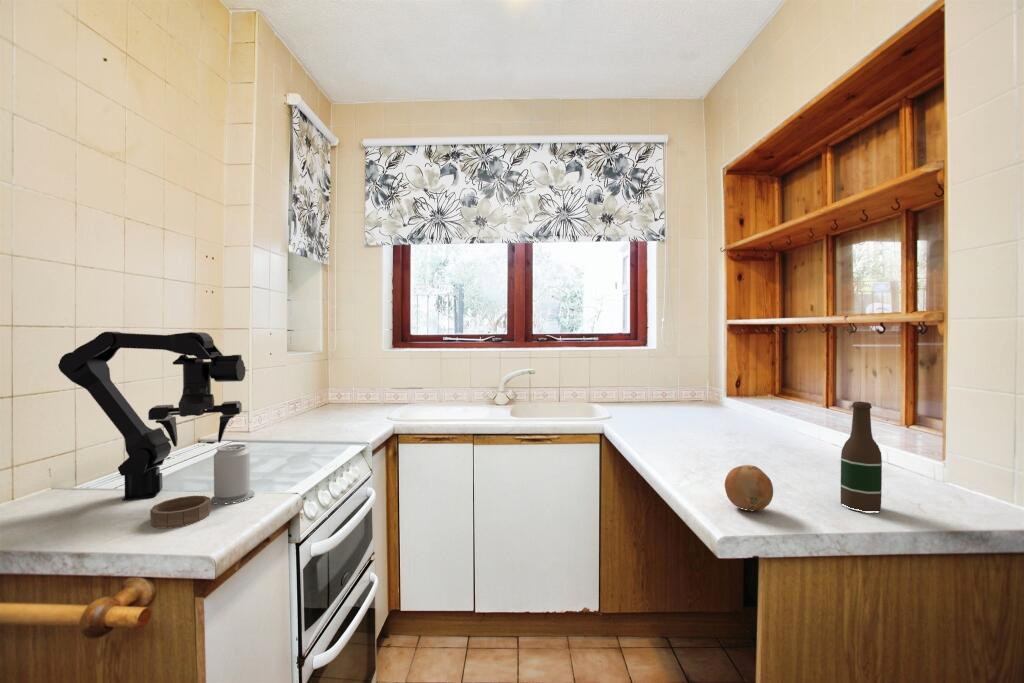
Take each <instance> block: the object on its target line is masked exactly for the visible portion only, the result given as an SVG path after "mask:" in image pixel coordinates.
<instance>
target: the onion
mask: <svg viewBox="0 0 1024 683" xmlns="http://www.w3.org/2000/svg"><path fill="white" fill-rule="evenodd" d="M724 489H725V494H726V497H727V498H728V500H729V501H730V502H731V504H732V505H733V506H735V507H736V508H738V507H740V508H743V509H747V510H759V511H761V510H764V509H765V508H766V507H768V506H769V505H770V504H771V502H772V500H773V497H774V487H773V482H772V481H771V479H770V477H769V476H768V475H767V474H766V472H764V471H763V470H762V469H761V468H759V467H758V466H757V465H756V466H755V465H752V464H744V465H739V466H736V467H733V468H732V469H731V470H729V472H728V473H727V475H726V477H725V480H724ZM740 508H739V509H740Z"/></svg>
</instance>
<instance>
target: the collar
mask: <svg viewBox="0 0 1024 683" xmlns="http://www.w3.org/2000/svg"><path fill="white" fill-rule="evenodd" d="M211 505H212V503H211V498H210V497H209V496H206V495H188V496H187V495H186V496H181V497H175V498H172V499H168V500H167V499H166V500H164V501H162V502H159V503H157V504H155V505H153V506H152V508H151V509H150V525H151V526H152V525H153V526H152V527H154V528H156V527H165V528H164V529H170V528H169V527H171V528H176V526H178V527H184V526H187V525H186V524H188V525H191V524H193V523H194V522H195V523H198V522H200V521H202V520H204V519H206V518H208V517H209V516H210V514H211V507H212V506H211ZM207 516H208V517H207ZM205 517H206V518H205ZM197 521H198V522H197ZM190 523H191V524H190ZM195 523H194V524H195ZM183 525H184V526H183Z"/></svg>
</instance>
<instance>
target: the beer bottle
mask: <svg viewBox="0 0 1024 683" xmlns="http://www.w3.org/2000/svg"><path fill="white" fill-rule="evenodd" d="M851 408H852V421H851V430H850V435H849V438H848V439H847V440H846V441H845V442H844V444H843V446H842V449H841V454H840V504H841V503H842V504H844V505H846V506H848V507H850V508H854V509H859V510H862V511H880V512H881V508H882V485H883V484H882V480H883V479H882V478H883V475H882V474H883V473H882V471H883V470H882V469H883V465H882V464H883V458H882V451H881V449H880V447H879V445H878V443H877V442H876V441H875V439H874V438H873V433H872V421H871V420H872V418H871V409H872V408H873V407H872V404H871V403H870V402H866V401H853V402H852V405H851Z"/></svg>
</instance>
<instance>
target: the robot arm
mask: <svg viewBox="0 0 1024 683" xmlns="http://www.w3.org/2000/svg"><path fill="white" fill-rule="evenodd" d="M214 342H215V341H214V339H213V337H212V335H210V334H209V333H207V332H203V331H202V332H200V331H198V332H196V331H195V332H193V331H192V332H191V331H189V332H181V333H172V334H155V333H154V334H153V333H152V334H151V333H150V334H149V333H148V334H147V333H131V332H120V331H104V332H101V333H100V334H98V335H97V336H96V337H94V338H93V339H91V340H90V341H88V342H86V343H84V344H81V345H80V346H79V347H76V348H75V349H74V350H73V351H71V352H67V353H65V354H64V355H62V356H61V358H59V363H58V364H57V366H58V370H59V371H60V372H61V374H63V376H65V377H66V378H67V379H68V380H70V382H72V383H74V384H76V386H77V385H78V386H80V387H81V388H83V389H85V390H86V391H87V392H88V393H89V394H90V395H91V397H92V398H93V400H94V401H95V403H96V404H97V405H98V406H99V407H100V408H101V410H102V411H103V412H104V414H105V415H106V416H107V418H108V419H109V420H110V421H111V422H112V424H113V425H114V426H115V427H116V429H117V430H118V432H119V433H120V434H121V436H122V437H123V439H124V445H125V446H124V448H125V451H126V453H127V456H128V457H127V458H126V459H125V460H124V461H123V462H122V463H121V464H120V465H119V466H117V470H118V471H119V472H118V473H119V474H120V476H124V496H122V499H121V501H131V500H138V499H147V497H148V498H153V497H152V496H155V497H157V496H158V494H159V493H160V492H161V491H162V490H163V485H164V484H163V483H164V482H163V473H162V472H161V471H160V470H161V469H160V468H161V466H163V464H164V461H165V460H166V459H167V458H168V456H169V455H170V453H171V449H172V446H174V448H175V447H177V446H178V429H177V416H179V417H182V418H185V417H188V416H196V417H199V416H203V415H204V414H212V413H213V414H215V413H221V415H220V416H219V427H218V434H217V443H218V444H220V443H221V442H222V439H223V436H224V433H225V430H226V428H227V426H228V424H229V422H230V419H233V418H235V416H236V415H240V414H241V413H242V406H243V405H242V402H241V401H240V400H235V401H231V400H230V401H224V402H222V403H221V404H219V405H217V404H215V397H214V396H215V395H214V394H213V393H212V389H211V388H212V384H211V381H212V380H211V379H213V380H214V382H216V383H217V382H218V383H219V382H220V383H223V382H225V383H227V382H232V383H233V382H243V381H244V380H245V377H246V371H247V370H246V366H245V363H244V360H243V359H242V358H243V357H242V354H232V355H231V354H230V355H224V354H223V353H222V352H221V351H220V349H218V348H217V347H218V346H216V345H215V343H214ZM120 349H140V350H141V349H142V350H159V351H160V350H162V351H168V352H171V353H175V354H180V355H179V356H178V358H177V359H175V360H174V361H172V365H175V366H176V365H178V366H179V365H181V366H182V394H181V398H180V399H179V400H178V404H177V405H178V407H175V406H174V404H159V405H155V406H153V407H151V408H150V409H148V413H147V414H148V417H147V418H148V420H149V421H154V420H155V421H154V422H155V423H156V424H160V425H162V426H163V427H164V429H165V431H166V432H167V434H168V436H169V437H168V436H166V434H165V432H164V430H163V429H162V428H161V427H158V428H155V429H152V428H150V427H148V426H147V425H146V424H145V422H144V421H143V420H142V419H141V417H140V416H139V415H138V414H137V412H136V411H135V410H134V407H132V406H131V404H130V403H129V402H128V401H127V399H126V398H125V397H124V395H123V394H122V392H120V390H119V389H118V388H117V386H116V385H115V383H114V382H113V381H112V379H111V374H110V373H111V370H110V367H109V365H108V362H109V361H110V360H112V359H113V358H114V356H115V355H116V354H117V352H118V351H119V350H120ZM189 356H190V357H189ZM192 356H194V357H192ZM206 360H209V361H206ZM170 442H172V444H171V443H170Z"/></svg>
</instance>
